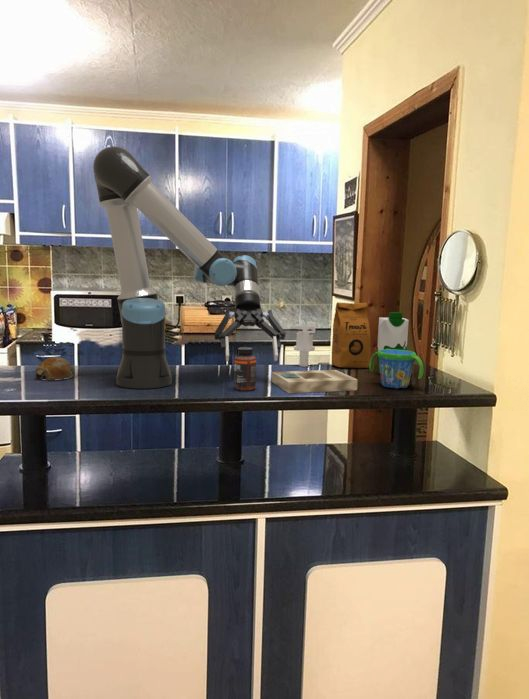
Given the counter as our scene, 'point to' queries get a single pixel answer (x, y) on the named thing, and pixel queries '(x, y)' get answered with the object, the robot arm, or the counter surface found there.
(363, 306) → the coffee package
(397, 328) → the milk carton
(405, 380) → the snack cup
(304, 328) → the pale grey stepped figure
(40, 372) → the bread roll
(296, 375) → the birch socket block
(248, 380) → the supplement bottle
